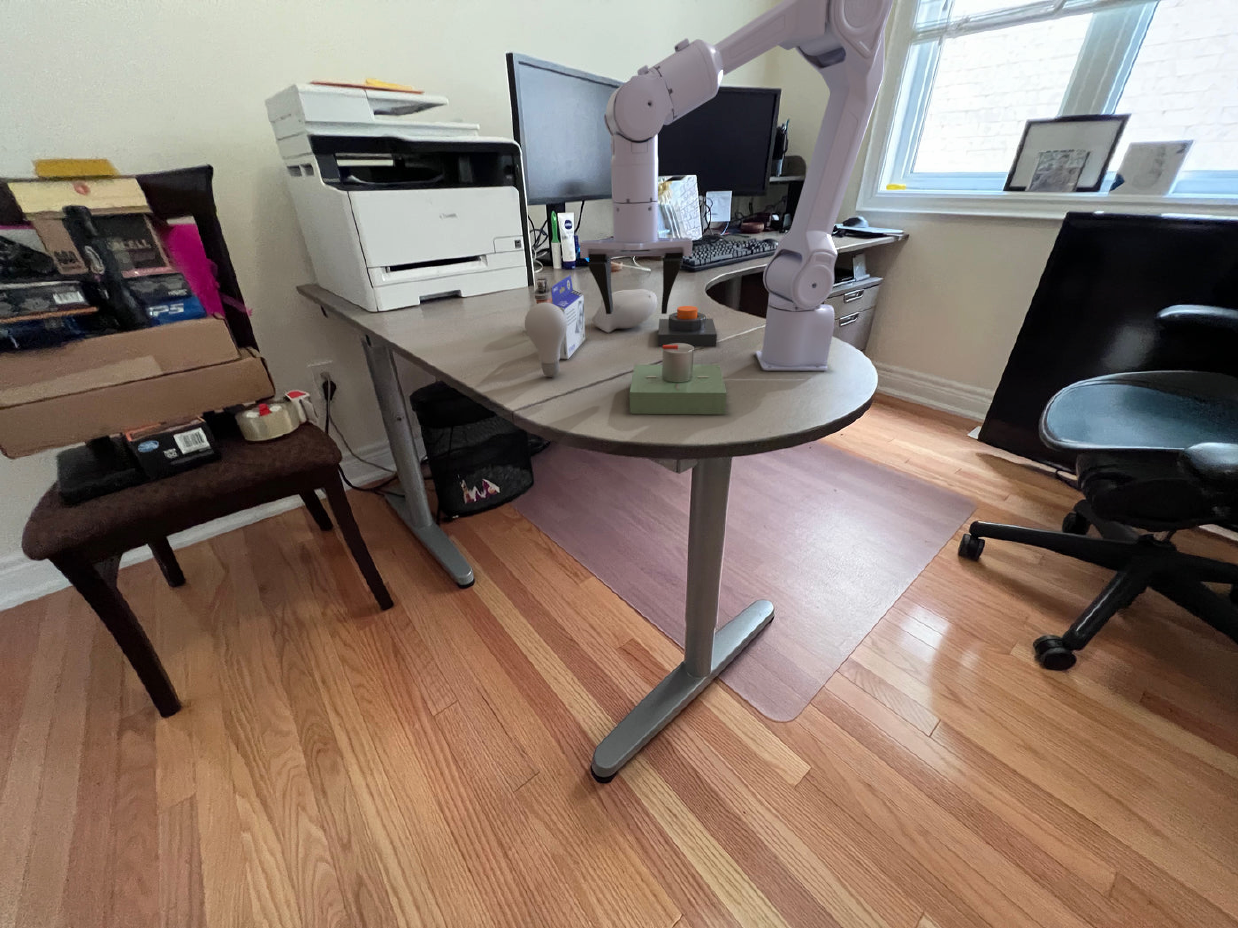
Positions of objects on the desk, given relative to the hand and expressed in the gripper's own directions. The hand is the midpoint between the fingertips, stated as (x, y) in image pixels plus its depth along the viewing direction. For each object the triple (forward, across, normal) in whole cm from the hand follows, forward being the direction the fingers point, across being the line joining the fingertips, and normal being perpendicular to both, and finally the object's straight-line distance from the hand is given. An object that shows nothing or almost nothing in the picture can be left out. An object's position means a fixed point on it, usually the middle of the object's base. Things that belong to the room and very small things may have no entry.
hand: (636, 312), depth 68 cm
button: (+6, +7, +20) cm, 22 cm away
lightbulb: (+10, -13, 0) cm, 17 cm away
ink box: (+10, -13, +13) cm, 21 cm away
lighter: (+10, -20, +25) cm, 34 cm away
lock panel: (+10, +6, -7) cm, 14 cm away
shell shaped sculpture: (+10, -5, +28) cm, 31 cm away
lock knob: (+7, +6, -7) cm, 12 cm away
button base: (+10, +7, +20) cm, 23 cm away
